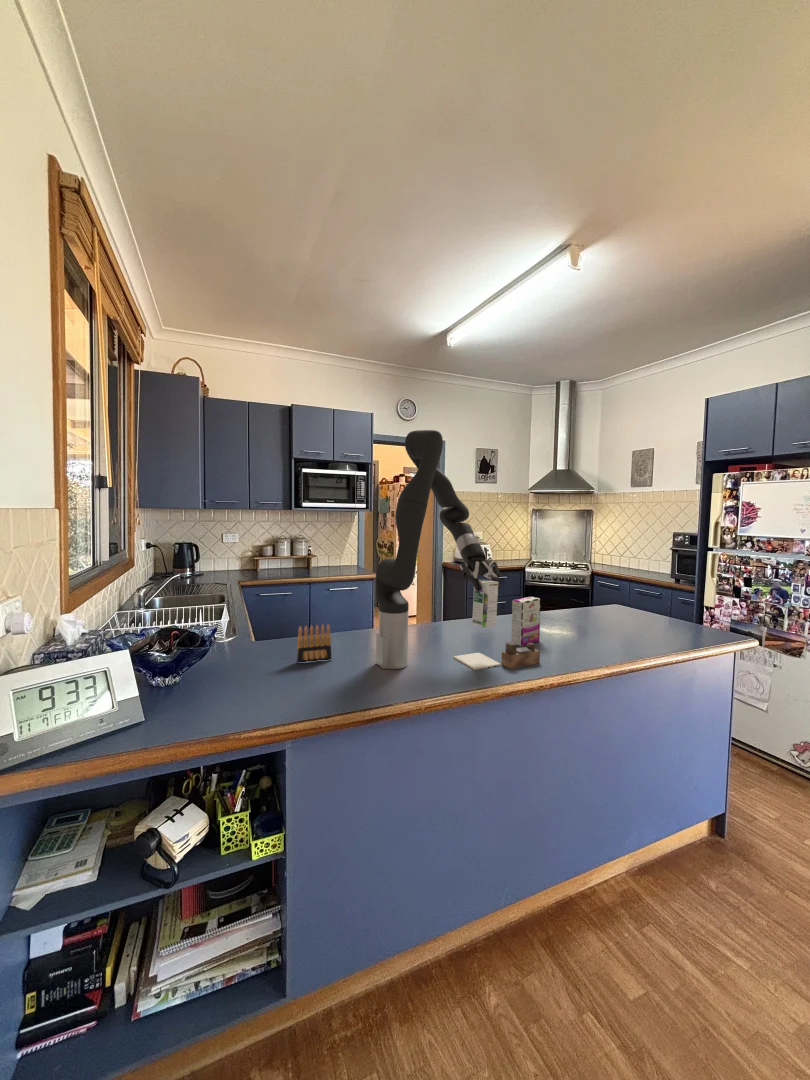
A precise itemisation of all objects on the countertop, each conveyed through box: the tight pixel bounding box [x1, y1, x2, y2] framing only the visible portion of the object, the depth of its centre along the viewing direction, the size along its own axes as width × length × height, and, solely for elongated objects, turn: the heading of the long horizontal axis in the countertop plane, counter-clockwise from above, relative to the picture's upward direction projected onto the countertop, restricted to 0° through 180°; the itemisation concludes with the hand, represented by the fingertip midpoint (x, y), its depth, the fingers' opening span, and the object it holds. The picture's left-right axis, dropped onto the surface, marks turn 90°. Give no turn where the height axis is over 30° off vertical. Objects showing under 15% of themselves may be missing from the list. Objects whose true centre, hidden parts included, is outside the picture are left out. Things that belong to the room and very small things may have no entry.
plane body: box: [500, 641, 541, 669], centre depth 143 cm, size 12×4×7 cm, turn 115°
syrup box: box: [471, 578, 499, 629], centre depth 144 cm, size 6×6×14 cm
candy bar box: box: [511, 596, 541, 647], centre depth 166 cm, size 11×5×16 cm, turn 129°
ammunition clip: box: [296, 623, 332, 662], centre depth 142 cm, size 11×2×12 cm, turn 111°
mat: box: [453, 652, 502, 671], centre depth 144 cm, size 10×12×1 cm
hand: (489, 589), depth 143 cm, fingers closed on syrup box, 6 cm apart
